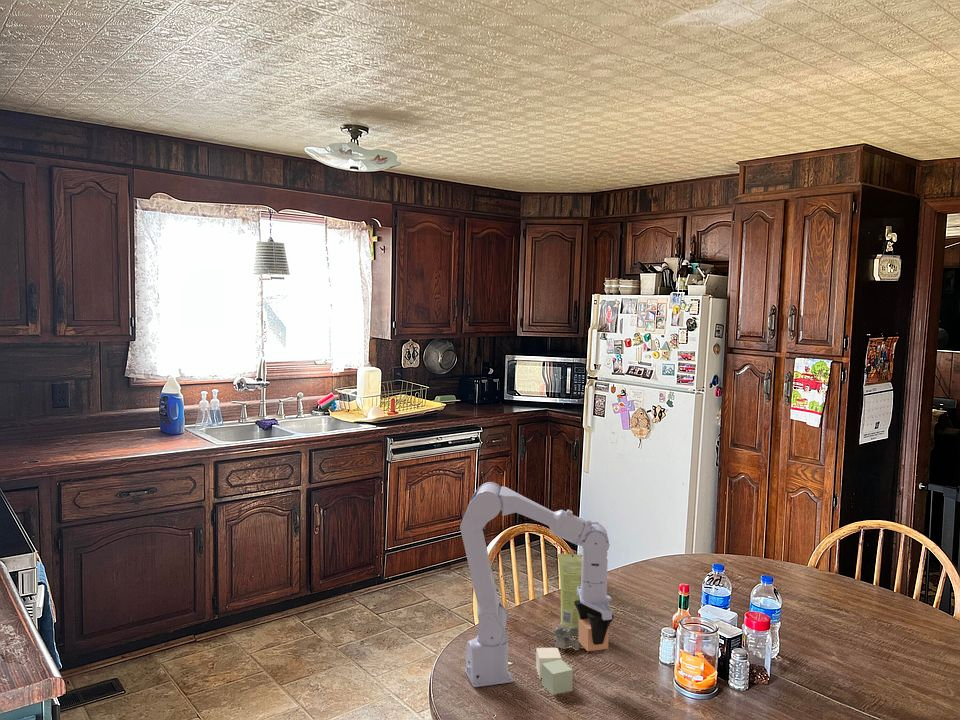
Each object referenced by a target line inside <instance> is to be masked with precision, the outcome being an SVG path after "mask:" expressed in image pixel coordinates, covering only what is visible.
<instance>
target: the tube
mask: <svg viewBox="0 0 960 720" xmlns="http://www.w3.org/2000/svg"><path fill="white" fill-rule="evenodd" d="M582 557H583V554H574V553H573V554H572V553H557V558H558V565H559V569H558V570H559V580H560V583H559V584H560V585H559V586H560V625H561V624H562V625H563V626H566V627H577V626H579V620H580V616H579V613H578V610H577V608H576V606H575V604H574V601H576V600H580V598H579V596H578V595H577V587H579V586H581V572H582Z"/></svg>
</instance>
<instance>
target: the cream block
mask: <svg viewBox="0 0 960 720" xmlns="http://www.w3.org/2000/svg"><path fill="white" fill-rule="evenodd" d="M535 653H536V654H535V670H536V669H537V670H536V672H538V673H537V675H539V677H538V679H539V678H542V664H543V663H547V662H552V661H557V660H562V656H561V653H560V650H559V648H556V647H536V651H535Z"/></svg>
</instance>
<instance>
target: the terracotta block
mask: <svg viewBox="0 0 960 720" xmlns="http://www.w3.org/2000/svg"><path fill="white" fill-rule="evenodd" d="M609 629H610V626H609V627H608V629H607V632H606V635H605V639H604V642H603V644H598V645H594V643H593V639H592V629H591V624H590V621H589V619H582V620H579V637H578V641H579V642H580V644H581V645H582V646H583V647H584V648H583V649H585V650H586V651H587V652H592V651H602V650H608V649H609V633H610V632H609V631H610V630H609Z"/></svg>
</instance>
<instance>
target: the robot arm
mask: <svg viewBox="0 0 960 720" xmlns="http://www.w3.org/2000/svg"><path fill="white" fill-rule="evenodd" d="M501 511H502V514H501V515H502V517H503V516H508V515H512V514H518V515H522V516H524V517H527V518H528V519H530V520H534V521H536V522H539V523H541V524H544V525H546V526H548V527H549V530H550V532H551V534H553V535H555V536H556V537H558V538H561V539H564V540H565V541H568V542H570V543H571V544H574V545H576V546H581V547H582V555H583V557H582V572H581V586H579V587H577V595H578V596H579V598H580V600H576V601H574V604H575V606H576V608H577V610H578V613H579V616H580V620H582V619H589V621H590V624H591V629H592V639H593V643H594V645H598V644H603V642H604V639H605V635H606V632H607V629H608V627H609V628H610V625H611V623H612V621H613V620H614V618H615V617H614V614H613V610H612V609H611V607H610V603H609V602H611V601H612V597H611V596H610V595H608V565H609V563H608V561H609V560H608V558H607V557H608V551H609V549H610V543H609V542H610V541H609V536H608V533H607V530H606V528H605V527H604V526H603V525H602V524H600V523H599V522H597V521H592V520H590V519H588V520H585V519H582V518H580V517H579V516H578V515H577V516H576V515H574V514H573V511H572V510H571V509H567V510H564V509H559V510H556V511H553V510H551V509H549V508H547V507H545V506H544V505H541V504H540V503H537V502H536V501H533V500H532V499H529V498H528V497H525V496H524V495H522V494H520V493H518V492H516V491H515V490H512V489H511V488H509V487H508V486H507V487H506V486H504V485H502V486H500V485H499V484H498V483H496V482H493V481H487V482H485V483H482V484H481V485H480V486H479V487H478V488H477V489H476V490H475V492H474V493H473V494H472V496H471V499H470V501H469V503H468V505H467V507H466V511H465V512H464V515H463V517H462V520H461V522H460V525H459V527H460V528H459V529H460V532H461V538H462V542H463V547H464V550H465V555H466V559H467V565H468V568H469V574H470V576H471V581H472V586H473V591H474V595H475V598H476V609H477V610H476V611H477V612H476V613H477V614H476V615H477V618H478V619H477V621H478V624H477V628H476V634H477V635H476V637H475V638H473V639H471V640H470V639H469V640H467V641H466V644H465V669H464V672H465V673H466V675H467V677H468V680H469V681H470V683H471V685H472V687H473V688H479V687H485V686H494V685H495V686H496V685H499V684H500V685H502V684H508V683H513V682H514V678H513V677H512V674H511V673H510V671H508V670H509V635H508V633H507V632H506V627H507V626H506V625H507V622H508V619H509V616H508V615H509V614H508V611H507V608H506V607H505V606H504V605H503V603H502V601H501V597H500V595H499V593H498V592H497V588H496V583H495V579H494V574H493V571H492V564H491V561H490V557H489V552H488V548H487V543H486V540H485V535H484V531H483V529H484V528H485V527H486V525H487V524H488V522H490V521H491V520H493V519H495V518H496V517H497V516H498V515H499V514H500V512H501Z"/></svg>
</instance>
